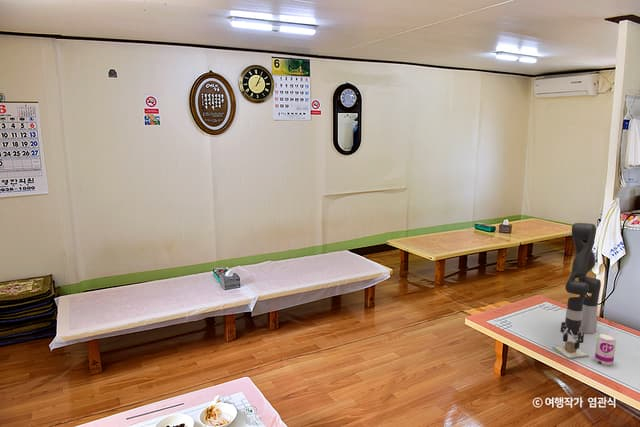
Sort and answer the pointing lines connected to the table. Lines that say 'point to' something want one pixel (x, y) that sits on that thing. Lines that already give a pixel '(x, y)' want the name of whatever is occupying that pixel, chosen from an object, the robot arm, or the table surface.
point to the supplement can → (605, 349)
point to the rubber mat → (569, 358)
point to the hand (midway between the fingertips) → (570, 345)
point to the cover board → (571, 355)
